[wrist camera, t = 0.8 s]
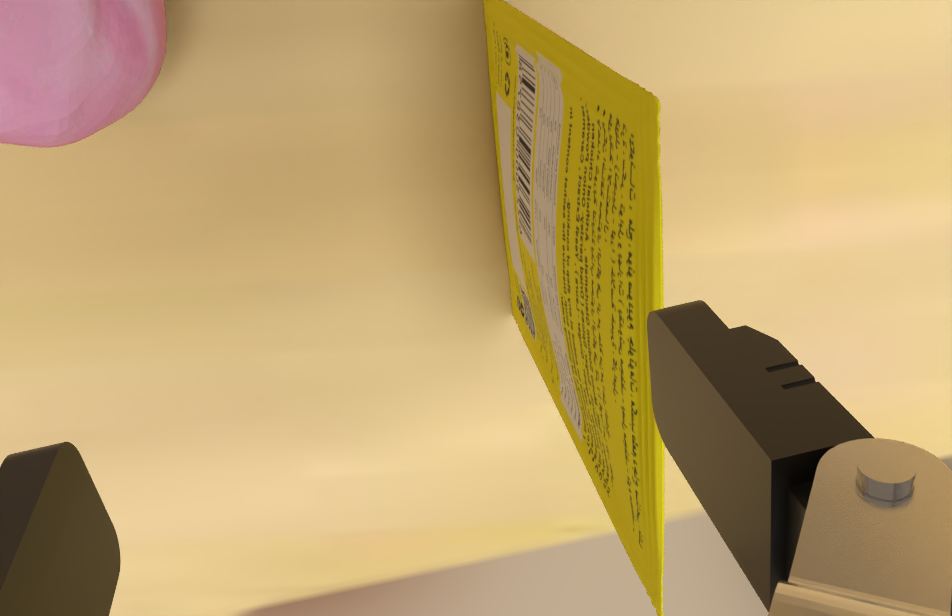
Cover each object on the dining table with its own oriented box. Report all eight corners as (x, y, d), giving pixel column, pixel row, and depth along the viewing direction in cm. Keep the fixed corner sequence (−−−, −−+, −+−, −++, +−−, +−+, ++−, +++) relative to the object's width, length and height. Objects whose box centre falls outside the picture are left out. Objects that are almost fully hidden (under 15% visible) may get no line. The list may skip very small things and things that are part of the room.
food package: (522, 312, 43) (678, 616, 26) (500, 316, 43) (641, 624, 26) (493, -16, 36) (680, 93, 19) (466, -12, 36) (629, 101, 18)
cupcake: (186, -124, 32) (145, -121, 24) (187, 109, 36) (152, 186, 27) (-82, -162, 31) (-235, -175, 22) (-53, 88, 34) (-173, 164, 25)
